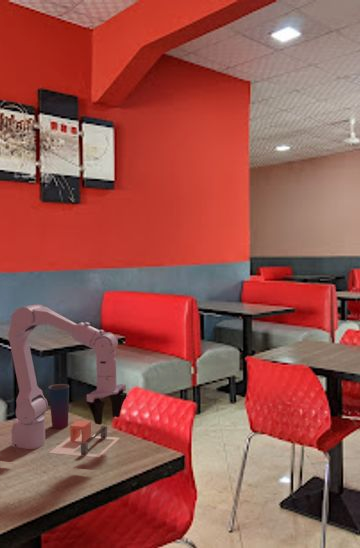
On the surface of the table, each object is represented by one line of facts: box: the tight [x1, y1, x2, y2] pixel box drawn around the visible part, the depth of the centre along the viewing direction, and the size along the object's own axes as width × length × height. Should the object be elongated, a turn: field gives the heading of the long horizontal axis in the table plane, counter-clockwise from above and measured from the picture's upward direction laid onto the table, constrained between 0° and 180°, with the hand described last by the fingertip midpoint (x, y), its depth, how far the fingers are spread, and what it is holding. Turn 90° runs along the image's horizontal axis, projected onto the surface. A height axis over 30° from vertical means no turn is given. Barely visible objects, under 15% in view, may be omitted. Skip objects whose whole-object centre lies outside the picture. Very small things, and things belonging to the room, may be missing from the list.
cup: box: [48, 383, 70, 430], centre depth 178 cm, size 7×7×15 cm
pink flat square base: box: [48, 425, 121, 458], centre depth 161 cm, size 16×16×5 cm
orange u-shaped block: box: [69, 420, 92, 442], centre depth 166 cm, size 5×5×5 cm
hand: (107, 420), depth 157 cm, fingers open, 7 cm apart
